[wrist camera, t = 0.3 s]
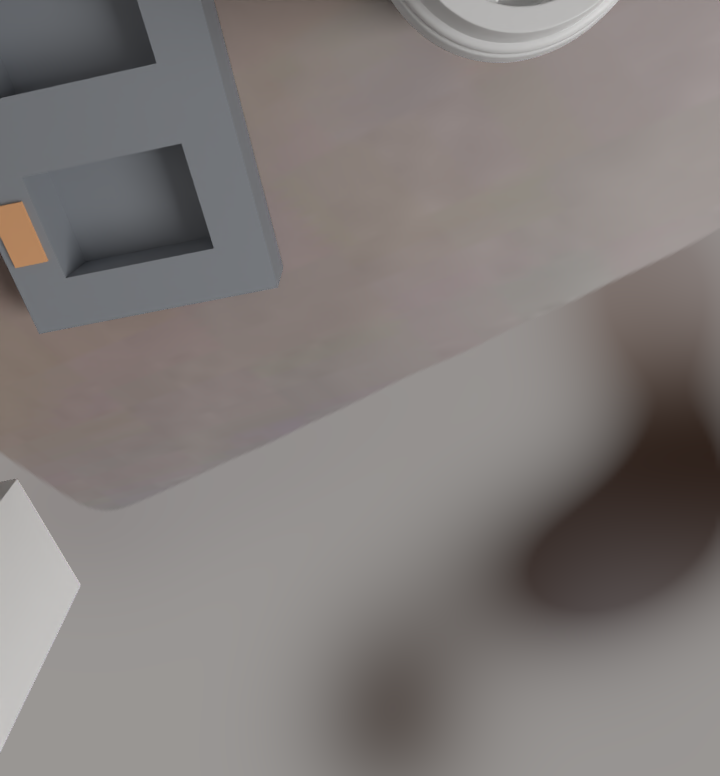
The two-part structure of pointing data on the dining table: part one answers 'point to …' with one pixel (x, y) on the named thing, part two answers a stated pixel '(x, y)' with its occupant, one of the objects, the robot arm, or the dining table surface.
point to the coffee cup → (502, 25)
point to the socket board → (125, 161)
